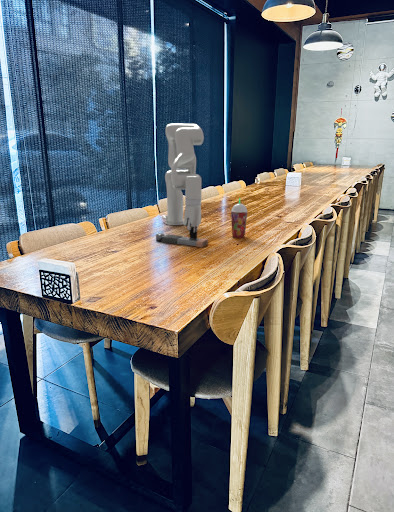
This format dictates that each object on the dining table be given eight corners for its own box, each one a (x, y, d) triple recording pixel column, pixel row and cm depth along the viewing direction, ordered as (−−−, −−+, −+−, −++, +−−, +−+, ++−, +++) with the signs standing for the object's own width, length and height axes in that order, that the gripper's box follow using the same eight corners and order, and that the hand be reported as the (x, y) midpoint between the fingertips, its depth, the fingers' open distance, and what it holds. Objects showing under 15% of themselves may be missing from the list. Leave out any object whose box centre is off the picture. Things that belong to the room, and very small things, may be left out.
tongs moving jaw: (154, 240, 185) (154, 234, 185) (160, 238, 190) (160, 232, 189) (202, 247, 174) (202, 240, 173) (207, 244, 179) (207, 238, 178)
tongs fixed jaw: (161, 242, 182) (161, 236, 181) (165, 241, 185) (165, 235, 184) (202, 247, 173) (202, 241, 172) (204, 246, 176) (204, 240, 175)
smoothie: (248, 235, 196) (250, 197, 191) (243, 239, 189) (245, 199, 184) (233, 234, 200) (234, 196, 194) (228, 237, 193) (229, 198, 187)
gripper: (193, 199, 185) (193, 235, 191) (178, 203, 172) (179, 242, 178) (206, 200, 182) (206, 237, 188) (193, 204, 169) (193, 244, 175)
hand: (193, 239), depth 183 cm, fingers closed
